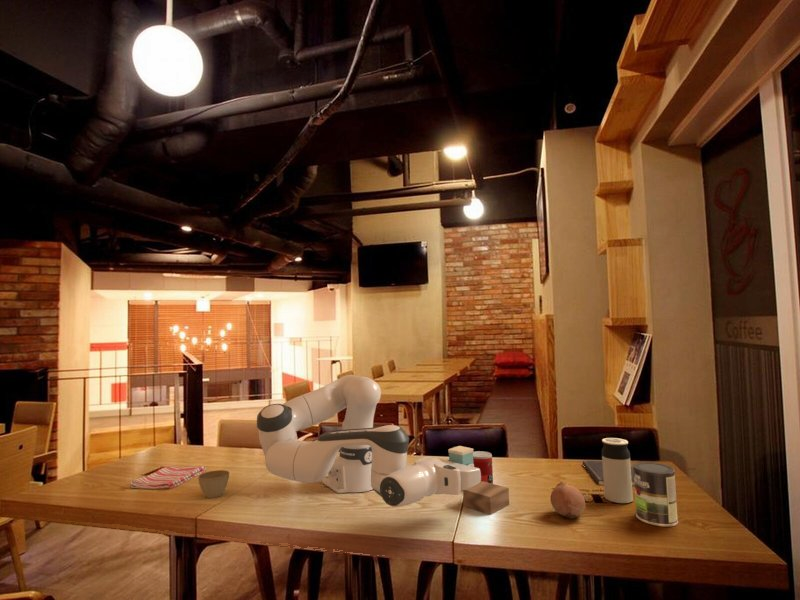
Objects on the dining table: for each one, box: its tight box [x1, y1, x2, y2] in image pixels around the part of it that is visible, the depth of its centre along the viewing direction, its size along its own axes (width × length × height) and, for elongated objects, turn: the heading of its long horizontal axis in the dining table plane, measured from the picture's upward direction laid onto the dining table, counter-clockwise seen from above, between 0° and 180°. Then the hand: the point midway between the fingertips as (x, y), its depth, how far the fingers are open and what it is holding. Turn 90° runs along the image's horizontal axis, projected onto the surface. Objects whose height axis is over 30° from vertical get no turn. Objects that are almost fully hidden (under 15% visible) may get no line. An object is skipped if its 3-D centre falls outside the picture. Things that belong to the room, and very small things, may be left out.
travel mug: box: [601, 437, 634, 504], centre depth 138 cm, size 8×8×18 cm
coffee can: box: [632, 461, 679, 528], centre depth 123 cm, size 10×10×14 cm
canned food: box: [473, 450, 494, 484], centre depth 153 cm, size 8×8×11 cm
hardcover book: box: [582, 460, 635, 487], centre depth 161 cm, size 16×23×2 cm
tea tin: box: [447, 445, 474, 465], centre depth 129 cm, size 5×5×10 cm
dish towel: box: [129, 466, 207, 490], centre depth 172 cm, size 17×23×4 cm
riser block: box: [462, 481, 510, 516], centre depth 136 cm, size 10×10×5 cm
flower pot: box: [197, 469, 230, 499], centre depth 152 cm, size 10×10×7 cm
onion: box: [549, 481, 586, 520], centre depth 127 cm, size 10×9×10 cm
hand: (463, 464), depth 130 cm, fingers closed on tea tin, 5 cm apart
